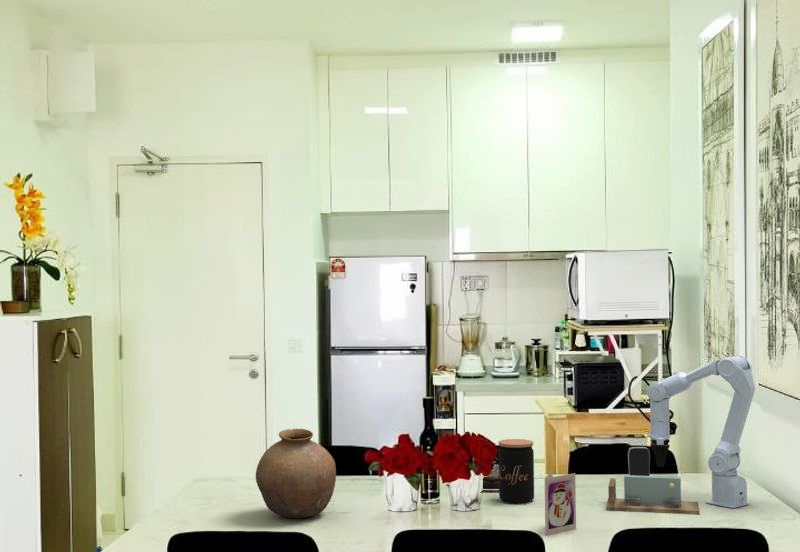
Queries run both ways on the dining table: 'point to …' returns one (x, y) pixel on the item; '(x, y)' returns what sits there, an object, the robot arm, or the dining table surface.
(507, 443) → the coffee jar
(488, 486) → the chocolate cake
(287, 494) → the pottery
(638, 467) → the battery charger
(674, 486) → the door panel
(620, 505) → the hinge rail
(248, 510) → the dining table surface
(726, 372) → the robot arm
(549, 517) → the greeting card
